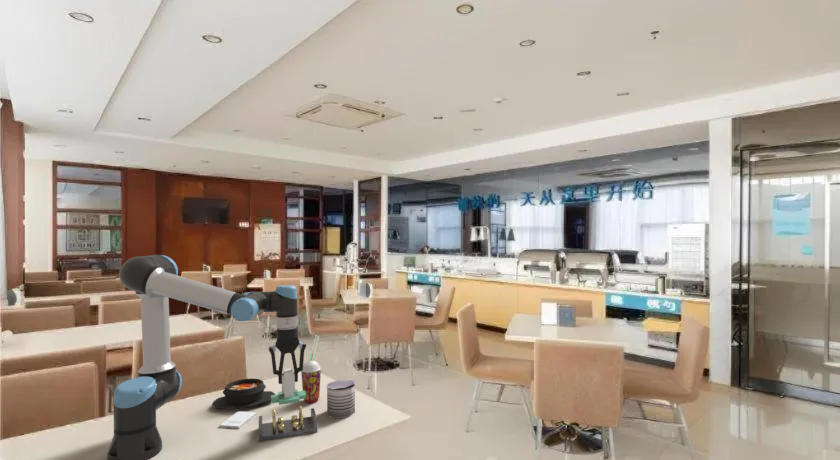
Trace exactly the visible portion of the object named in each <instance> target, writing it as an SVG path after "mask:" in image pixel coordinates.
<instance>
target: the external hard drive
mask: <svg viewBox="0 0 840 460" xmlns="http://www.w3.org/2000/svg"><path fill="white" fill-rule="evenodd" d="M256 416H257V412H256V411H239V410H238V411H236V412H235V413H234V414H232V415H231V416H230V417H229V418H227V419H226V420H224V421H223V422H222V423H220V424H219V425H218V428H220V429H221V428H222V429H233V430H234V429H236V430H238V429H239V430H240V429H241V428H243V426H244V425H246V424H247V423H248V422H249V421H251V420H252V419H254V418H255V417H256Z"/></svg>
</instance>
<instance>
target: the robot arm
mask: <svg viewBox="0 0 840 460" xmlns="http://www.w3.org/2000/svg"><path fill="white" fill-rule="evenodd" d="M178 273H179V269H178V265H177V263H176V262H175V261H174V260H173V258H170V256H167V255H164V254H162V255H161V254H152V255H144V256H143V255H139V256H133V257H131V258H129V259H126V261H125V262H124V263H123V264H122V265H121V267H120V268H119V273H118V277H119V281H120V283H121V284H122V285H123V287H125V288H127V289H129V291H133V292H135V295H136V297H138V298H140V313H141V314H140V315H141V338H142V339H141V342H142V344H141V345H142V366H141V367H140V368H139V369H138V371H137V372H138V373H137V375H138V376H137V377H134V378H131V379H128V380H125V381H123V382H121V383H120V384H119V385H117V387H116V388H115V389H114V392H113V393H114V394H113V399H112V403H113V435H112V439H111V442H110V444H109V448H108V450H107V452H106V453H107V454H106V455H107V456H106V460H149V459H151V458H153V457H155V456H156V455H158V454H159V453H160V452H161V451H162V449H163V440H162V439H163V438H162V436H161V434H160V432H159V430H158V427H157V410H158V409H160V408H161V407H162V406H165V404H167V403H168V402H170V401H172V400H173V399H174V397H176V396H177V394H178V393H179V392H180V390H181V388H182V384H183V380H182V375H181V373H180V372H178V370H177V364H176V363H175V362H173V361H172V359H171V352H172V351H171V329H170V304H169V303H170V302H169V300H170V299H174V300H177V301H181V302H184V303H187V304H191V305H195V306H198V307H202V308H206V309H209V310H211V311H216V312H218V313H222V314H226V315H230V316H232V318H233V319H235V320H236V321H237V322H247V321H250V320H252V319H254V318H255V317H256V316H258V315H260V314H262V313H275V312H276V313H275V314H276V315H275V316H276V317H275V318H276V328H277V329H276V341H275V344H274V345H272V346H268V352H269V353H270V356H271V365H272V374H273V375H277V376H278V380H277V381H278V384H279V385H281V392H282V394H284V372H283V371H284V368H283V367H284V361H285V355H286V354H291V355H290V356H291V361H292V366H293V367H292V368H293V392H295V390H296V383H298V382H299V373H300V372H301V371H302V370H303V365H304V358H305V350H306V348H307V344H306V343H305V342H301V341H300V340H299V327H298V325H299V321H298V316H299V315H298V299H299V298H298V289H297V286H296V285H294V284H284V285H283V284H282V285H278V286H276V287H275V290H274V291H249V292H244V293H239V292H235V291H232V290H228V289H225V288H221V287H219V286H215V285H212V284H208V283H205V282H202V281H198V280H195V279H194V280H193V279H190V278H188V277H185V276H184V277H183V276H181V275H178ZM169 298H170V299H169ZM298 347H299V349H300V351H299V363H298V364H299V365H298V364H297V360H296V354H295V351H296V350H297V348H298ZM276 349H277V350H278V351H279V352H280V356H279V357H280V358H279V366H278V369H277V364H276V363H277V362H276V355H275V354H276ZM297 365H298V366H297Z"/></svg>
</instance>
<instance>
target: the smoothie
mask: <svg viewBox="0 0 840 460" xmlns="http://www.w3.org/2000/svg"><path fill="white" fill-rule="evenodd" d="M309 354H310V355H309V356H310V357H309V358H310V359H309V360H308V361H307V360H306V361H305V363H303V370H302V371H300V372H301V383H302V384H301V386H302V391H305V393H306V399H303V400H304V402H305V403H306V404H312V403H316V402H317V401H319V398H320V392H321V391H320V390H321V378H322V377H321V373H322V367H321V366H320V364H319V362H318V361H316V360H313V354H311V353H309Z"/></svg>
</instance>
